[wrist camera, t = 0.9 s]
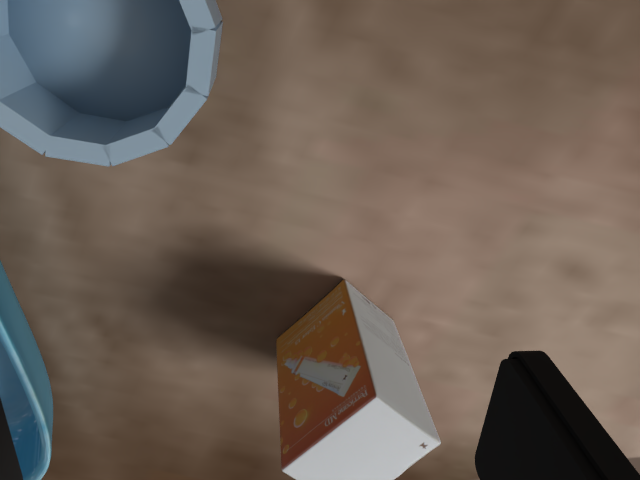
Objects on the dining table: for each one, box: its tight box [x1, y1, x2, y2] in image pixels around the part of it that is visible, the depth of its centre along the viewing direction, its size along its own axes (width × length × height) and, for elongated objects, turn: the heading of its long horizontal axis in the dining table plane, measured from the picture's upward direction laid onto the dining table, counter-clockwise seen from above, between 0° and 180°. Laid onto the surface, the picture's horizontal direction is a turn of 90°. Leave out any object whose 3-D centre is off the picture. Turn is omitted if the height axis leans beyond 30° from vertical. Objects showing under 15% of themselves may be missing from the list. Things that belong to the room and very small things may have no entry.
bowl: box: [0, 0, 223, 166], centre depth 28 cm, size 13×13×6 cm
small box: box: [276, 280, 441, 480], centre depth 37 cm, size 8×6×13 cm
